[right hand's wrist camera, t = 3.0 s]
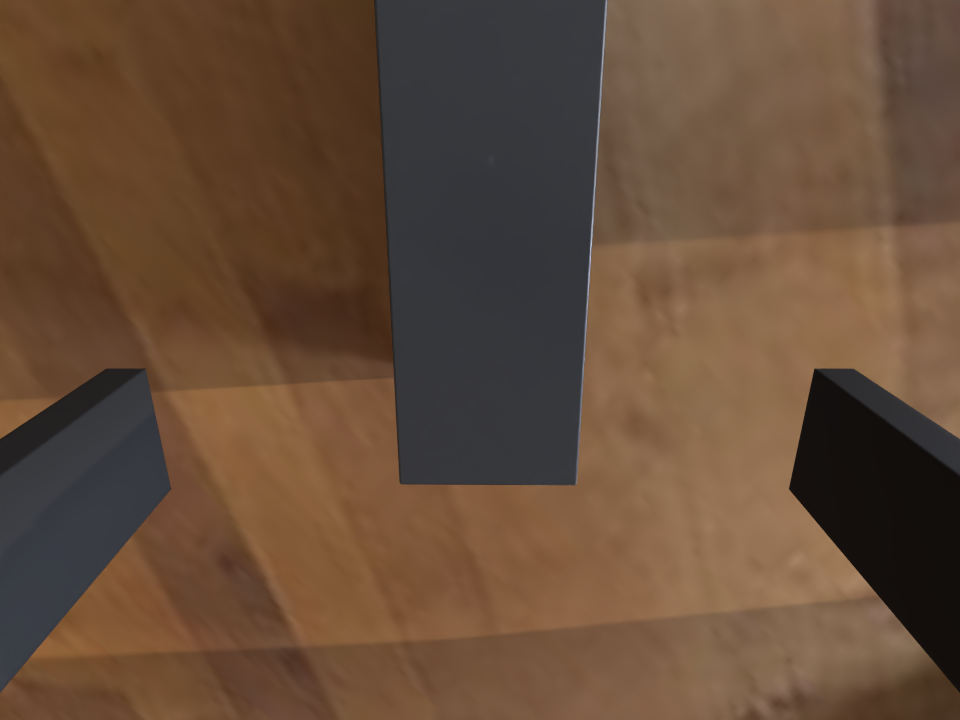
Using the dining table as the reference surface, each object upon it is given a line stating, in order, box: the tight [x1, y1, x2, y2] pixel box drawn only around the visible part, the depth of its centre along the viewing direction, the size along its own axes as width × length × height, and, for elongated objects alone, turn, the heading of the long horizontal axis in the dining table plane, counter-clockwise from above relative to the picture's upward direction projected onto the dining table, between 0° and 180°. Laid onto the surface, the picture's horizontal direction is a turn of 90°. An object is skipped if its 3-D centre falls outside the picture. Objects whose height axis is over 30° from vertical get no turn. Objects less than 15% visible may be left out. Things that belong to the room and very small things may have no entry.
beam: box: [374, 0, 608, 485], centre depth 17 cm, size 24×5×9 cm, turn 0°
